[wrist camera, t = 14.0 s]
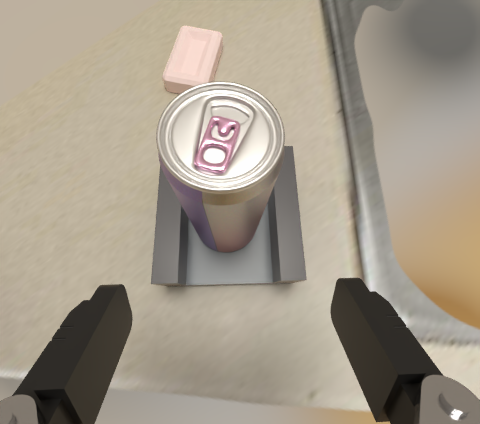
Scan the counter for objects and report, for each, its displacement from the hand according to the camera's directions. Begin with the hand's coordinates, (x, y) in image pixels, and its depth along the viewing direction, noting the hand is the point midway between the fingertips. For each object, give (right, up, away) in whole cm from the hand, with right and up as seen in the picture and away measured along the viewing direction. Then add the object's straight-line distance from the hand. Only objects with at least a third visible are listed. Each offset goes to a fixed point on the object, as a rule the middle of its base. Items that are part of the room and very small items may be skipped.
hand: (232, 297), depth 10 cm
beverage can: (-1, +2, +16) cm, 16 cm away
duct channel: (-1, +2, +17) cm, 17 cm away
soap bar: (-5, +22, +23) cm, 32 cm away
